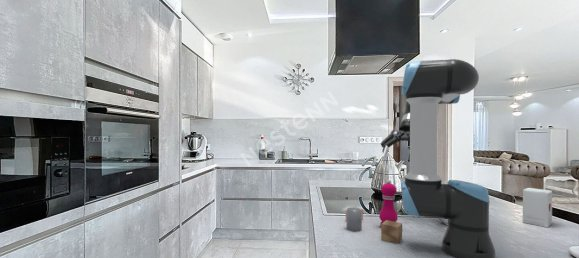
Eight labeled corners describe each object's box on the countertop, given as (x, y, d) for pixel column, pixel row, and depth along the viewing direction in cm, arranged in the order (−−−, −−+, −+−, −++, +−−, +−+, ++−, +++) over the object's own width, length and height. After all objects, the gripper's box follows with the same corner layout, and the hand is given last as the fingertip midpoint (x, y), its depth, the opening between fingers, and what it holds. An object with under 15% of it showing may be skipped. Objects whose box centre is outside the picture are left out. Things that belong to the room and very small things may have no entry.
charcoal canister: (364, 229, 119) (364, 209, 119) (356, 232, 115) (356, 212, 115) (351, 225, 123) (351, 206, 123) (343, 229, 119) (343, 209, 119)
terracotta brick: (362, 220, 132) (363, 209, 132) (353, 224, 126) (353, 212, 126) (355, 218, 135) (355, 207, 135) (345, 221, 129) (345, 210, 129)
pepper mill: (377, 228, 120) (378, 180, 120) (380, 223, 126) (381, 177, 126) (396, 231, 116) (396, 181, 117) (398, 226, 123) (399, 179, 123)
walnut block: (402, 239, 109) (402, 223, 109) (398, 244, 104) (398, 227, 104) (385, 235, 112) (386, 220, 112) (381, 240, 107) (381, 224, 107)
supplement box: (548, 228, 124) (548, 192, 124) (522, 222, 131) (522, 189, 131) (552, 223, 130) (552, 190, 130) (527, 219, 137) (527, 187, 137)
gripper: (438, 130, 136) (430, 167, 125) (385, 129, 151) (374, 162, 140) (436, 119, 131) (427, 157, 120) (382, 119, 147) (369, 152, 136)
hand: (398, 159), depth 130 cm, fingers open, 13 cm apart
